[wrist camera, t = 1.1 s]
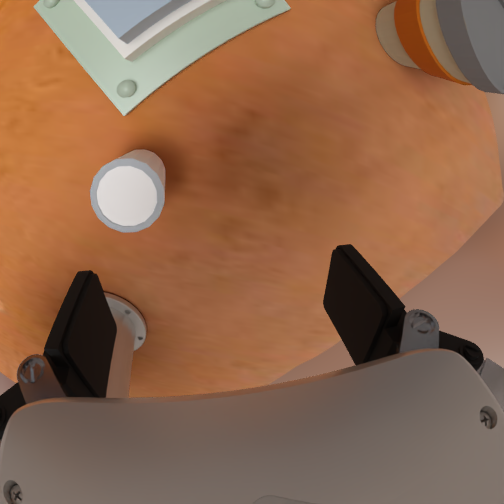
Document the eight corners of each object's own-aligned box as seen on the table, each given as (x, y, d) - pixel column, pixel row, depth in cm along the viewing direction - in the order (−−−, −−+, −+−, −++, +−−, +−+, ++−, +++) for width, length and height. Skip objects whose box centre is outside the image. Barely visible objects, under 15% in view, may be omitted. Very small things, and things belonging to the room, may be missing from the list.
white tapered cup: (184, 165, 28) (180, 185, 22) (150, 214, 30) (140, 246, 24) (131, 131, 25) (112, 143, 19) (100, 184, 27) (78, 209, 21)
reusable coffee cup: (379, -24, 18) (465, -49, 5) (445, 33, 22) (530, 40, 10) (348, 42, 23) (445, 29, 11) (421, 97, 27) (513, 122, 15)
